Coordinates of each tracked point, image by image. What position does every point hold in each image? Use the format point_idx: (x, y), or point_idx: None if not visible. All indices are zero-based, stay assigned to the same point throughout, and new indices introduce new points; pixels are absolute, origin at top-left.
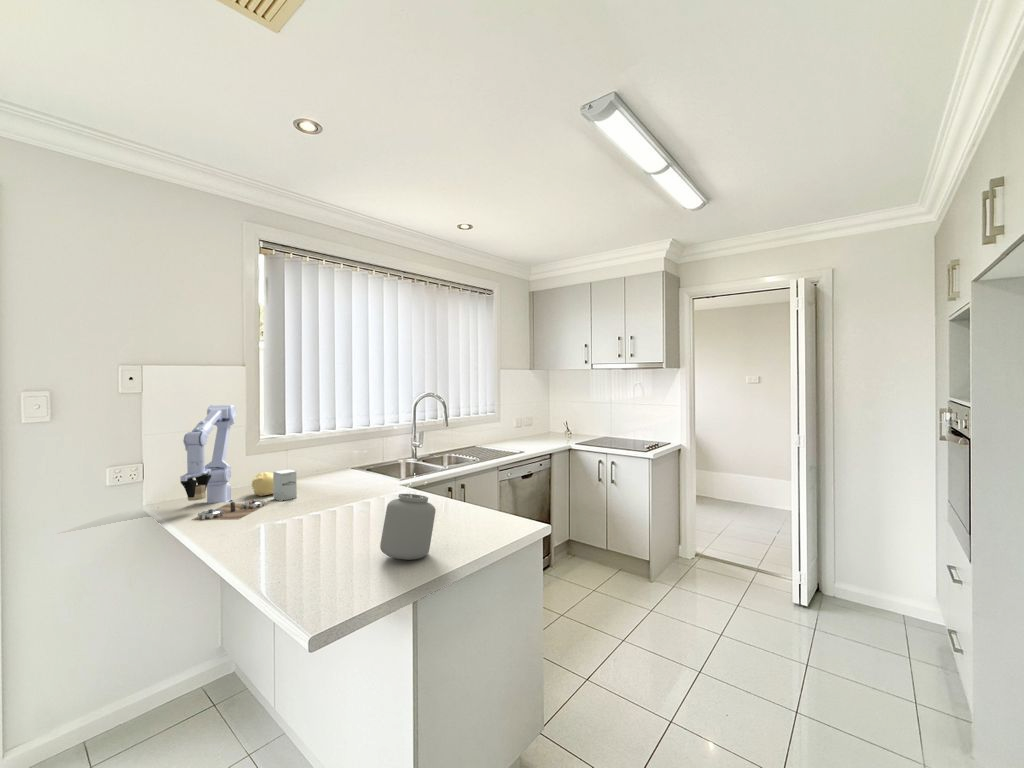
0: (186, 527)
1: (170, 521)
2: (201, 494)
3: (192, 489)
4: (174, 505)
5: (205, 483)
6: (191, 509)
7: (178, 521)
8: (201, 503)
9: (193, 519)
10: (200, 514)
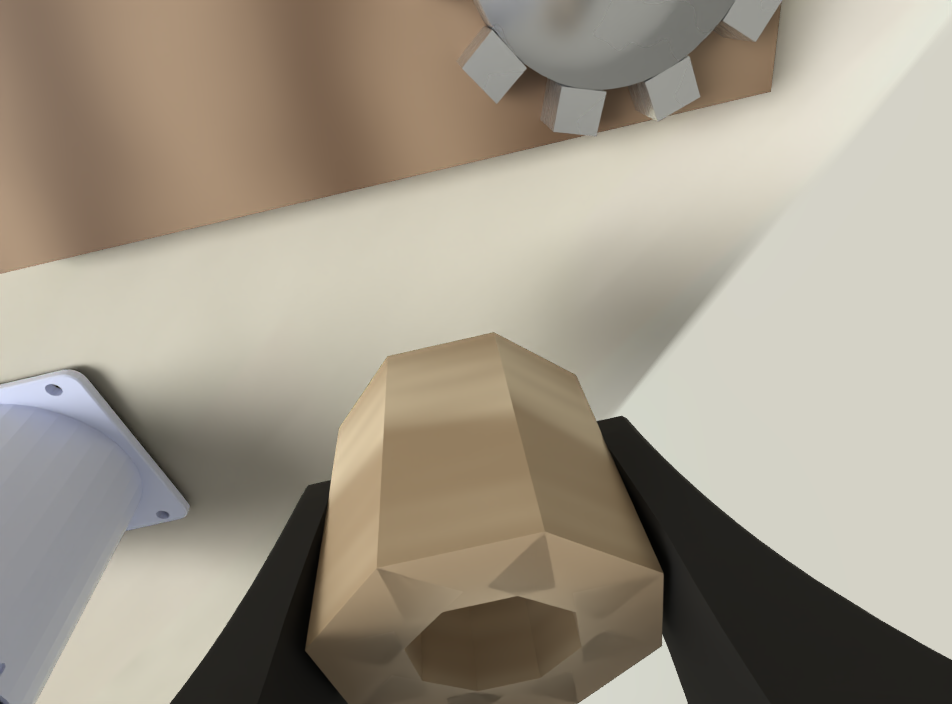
0: (880, 9)
1: (633, 379)
2: (510, 390)
3: (736, 533)
4: None
5: (279, 668)
6: (291, 512)
7: (634, 314)
8: (126, 580)
9: (750, 77)
10: (737, 12)
